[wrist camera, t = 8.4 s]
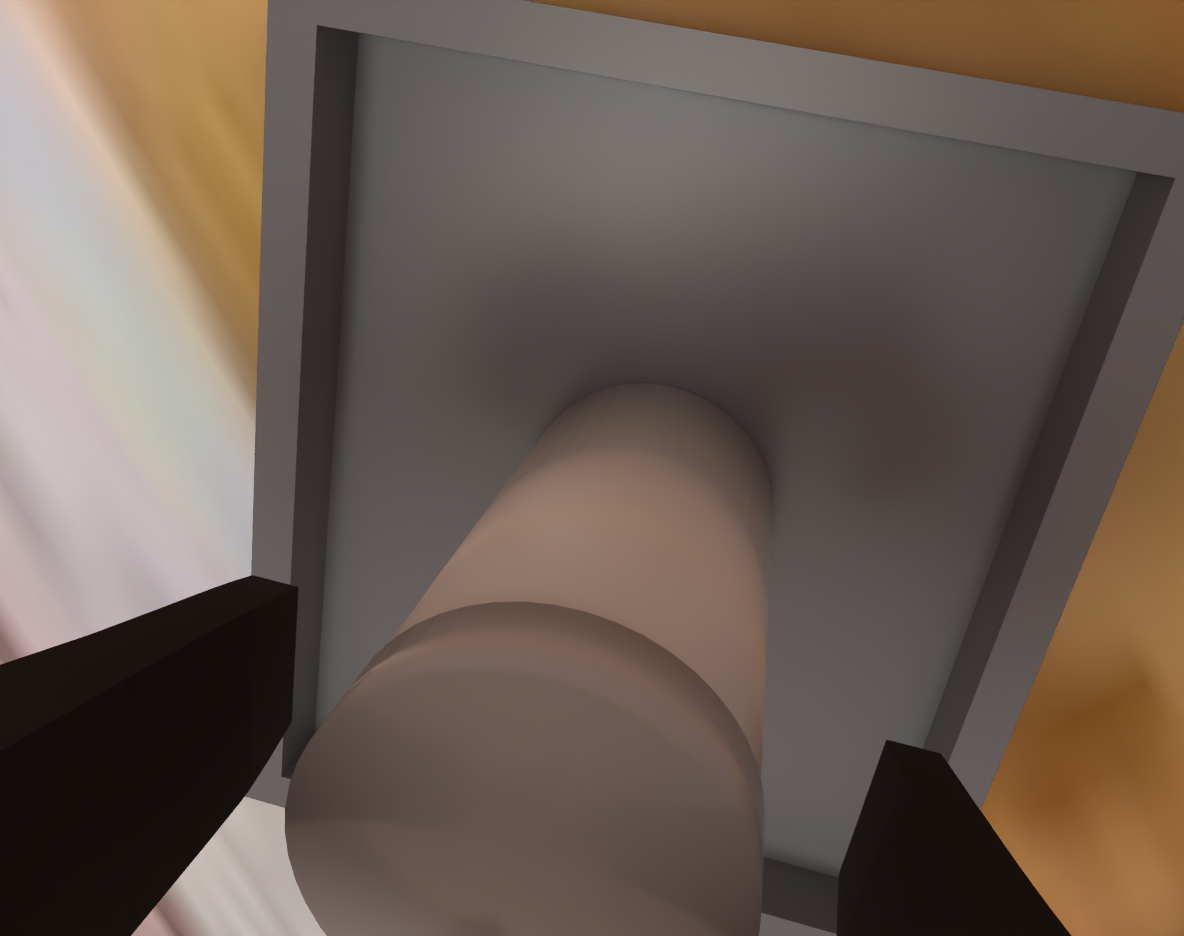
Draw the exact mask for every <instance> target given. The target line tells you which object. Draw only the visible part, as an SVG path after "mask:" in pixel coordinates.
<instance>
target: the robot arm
mask: <svg viewBox="0 0 1184 936" xmlns="http://www.w3.org/2000/svg"><path fill="white" fill-rule="evenodd" d="M298 589H299V587H297V586H293V585H289V584H285V583H281V582H278V581H274V580H270V579H266V578H262V577H258V576H254V575H252V576H249V577H245V578H242V579H239V580H236V581H233V582H230V583H227V584H224V585H221V586H218V587H215V588H213V589H210V590H207V591H204V592H202V593H199V594H196V595H194V596H191V597H189V598H186V599H183V600H181V601H178V602H175V603H173V604H170V605H168V606H165V607H162V608H160V609H157V610H154V611H152V612H149V613H147V614H144V615H141V616H139V617H136V618H133V619H131V620H128V621H125V622H123V623H120V624H117V625H115V626H112V627H109V628H107V629H104V630H101V631H99V632H96V633H93V634H90V635H88V636H85V637H82V638H79V639H76V640H73V641H70V642H67V643H64V644H61V645H58V646H55V647H52V648H49V649H46V650H43V651H40V652H37V653H34V654H31V655H28V656H25V657H22V658H19V659H16V660H13V661H10V662H7V663H4V664H1V665H0V936H131V935H132V934H133V932H134V931H135V930H136V929H137V928H138V926H139V925H140V924H141V923H142V922H143V920H144V919H145V918H146V917H147V915H148V914H149V913H150V912H151V911H152V909H153V908H154V907H155V906H156V905H157V903H158V902H159V901H160V900H161V898H162V897H163V896H164V895H165V894H166V892H167V891H168V890H169V889H170V888H171V886H172V885H173V884H174V883H175V881H176V880H177V879H178V878H179V877H180V875H181V874H182V873H183V872H184V871H185V869H186V868H187V867H188V866H189V864H190V863H191V862H192V861H193V860H194V858H195V857H196V856H197V855H198V854H199V852H200V851H201V850H202V849H203V847H204V846H205V845H206V844H207V843H208V841H209V840H210V839H211V838H212V836H213V835H214V834H215V833H216V831H217V830H218V829H219V828H220V827H221V825H222V824H223V823H224V822H225V820H226V819H227V818H228V817H229V815H230V814H231V813H232V812H233V810H234V809H235V808H236V807H237V805H238V804H239V803H240V802H241V800H242V799H243V798H244V797H245V795H246V794H247V793H248V792H249V790H250V789H251V787H252V786H253V784H254V782H255V781H256V779H257V778H258V776H259V775H260V773H261V772H262V770H263V768H264V767H265V765H266V764H267V762H268V761H269V759H270V757H271V756H272V754H273V752H274V751H275V749H276V747H277V746H278V744H279V742H280V741H281V739H282V737H283V736H284V734H285V732H286V731H287V729H288V727H289V726H290V724H291V722H292V708H293V689H294V669H295V649H296V629H297V609H298ZM837 936H1071V935H1070V934H1069V932H1068V931H1067V930H1066V928H1065V927H1064V926H1063V924H1062V923H1061V922H1060V920H1059V919H1058V918H1057V917H1056V915H1055V914H1054V913H1053V911H1052V910H1051V909H1050V907H1049V906H1048V905H1047V903H1046V902H1045V901H1044V899H1043V898H1042V897H1041V895H1040V894H1039V893H1038V891H1037V890H1036V889H1035V887H1034V886H1033V885H1032V883H1031V882H1030V880H1029V879H1028V878H1027V876H1026V875H1025V873H1024V872H1023V871H1022V869H1021V868H1020V867H1019V865H1018V864H1017V862H1016V861H1015V860H1014V858H1013V857H1012V855H1011V854H1010V852H1009V851H1008V850H1007V848H1006V847H1005V845H1004V844H1003V843H1002V841H1001V840H1000V838H999V837H998V835H997V834H996V832H995V831H994V830H993V828H992V827H991V825H990V824H989V822H988V821H987V819H986V818H985V816H984V815H983V814H982V812H981V811H980V809H979V808H978V806H977V805H976V803H975V802H974V800H973V799H972V797H971V796H970V794H969V793H968V792H967V790H966V789H965V787H964V786H963V784H962V783H961V781H960V780H959V778H958V777H957V775H956V774H955V773H954V771H953V770H952V768H951V767H950V765H949V764H948V763H947V761H946V760H945V758H944V757H943V756H942V754H941V753H937V752H933V751H929V750H926V749H922V748H918V747H914V746H910V745H906V744H902V743H899V742H895V741H891V740H887V739H886V742H885V745H884V747H883V750H882V753H881V756H880V759H879V762H878V764H877V767H876V770H875V773H874V776H873V779H872V781H871V784H870V787H869V790H868V793H867V796H866V798H865V801H864V804H863V807H862V810H861V813H860V815H859V818H858V821H857V824H856V827H855V830H854V832H853V835H852V838H851V841H850V844H849V847H848V849H847V852H846V855H845V858H844V861H843V864H842V866H841V869H840V872H839V881H838V906H837Z"/></svg>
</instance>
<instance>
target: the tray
mask: <svg viewBox="0 0 1184 936" xmlns="http://www.w3.org/2000/svg"><path fill="white" fill-rule="evenodd" d="M1183 320H1184V113H1182V112H1176V111H1170V110H1165V109H1159V108H1153V107H1147V106H1141V105H1135V104H1129V103H1123V102H1118V101H1112V100H1106V99H1100V98H1094V97H1088V96H1082V95H1076V94H1071V93H1065V92H1059V91H1053V90H1047V89H1041V88H1035V87H1029V86H1024V85H1018V84H1012V83H1006V82H1000V81H994V80H988V79H982V78H977V77H971V76H965V75H959V74H953V73H947V72H941V71H935V70H930V69H924V68H918V67H912V66H906V65H900V64H894V63H888V62H883V61H877V60H871V59H865V58H859V57H853V56H847V55H841V54H836V53H830V52H824V51H818V50H812V49H806V48H800V47H794V46H789V45H783V44H777V43H771V42H765V41H759V40H753V39H747V38H742V37H736V36H730V35H724V34H718V33H712V32H706V31H700V30H695V29H689V28H683V27H677V26H671V25H665V24H659V23H653V22H648V21H642V20H636V19H630V18H624V17H618V16H612V15H606V14H601V13H595V12H589V11H583V10H577V9H571V8H565V7H559V6H554V5H548V4H542V3H536V2H530V1H524V0H268V18H267V53H266V88H265V122H264V157H263V192H262V226H261V261H260V296H259V330H258V365H257V400H256V434H255V469H254V504H253V538H252V573H251V576H252V575H254V576H258V577H262V578H266V579H270V580H274V581H278V582H281V583H285V584H289V585H293V586H297V587H299V589H298V609H297V629H296V649H295V669H294V689H293V708H292V722H291V724H290V726H289V727H288V729H287V731H286V732H285V734H284V736H283V737H282V739H281V741H280V742H279V744H278V746H277V747H276V749H275V751H274V752H273V754H272V756H271V757H270V759H269V761H268V762H267V764H266V765H265V767H264V768H263V770H262V772H261V773H260V775H259V776H258V778H257V779H256V781H255V782H254V784H253V786H252V787H251V789H250V790H249V792H248V793H247V794H246V795H245V796H246V797H249V798H253V799H256V800H260V801H263V802H266V803H270V804H273V805H277V806H280V807H284V808H285V806H286V800H287V794H288V789H289V784H290V781H291V778H292V775H293V773H294V770H295V767H296V764H297V762H298V760H299V758H300V757H301V755H302V753H303V751H304V750H305V748H306V746H307V744H308V743H309V741H310V740H311V738H312V737H313V736H314V734H315V733H316V732H317V730H318V729H319V728H320V726H321V725H322V724H323V722H324V721H325V720H326V718H327V717H328V716H329V714H330V713H331V712H332V710H333V709H334V708H335V706H336V705H337V704H338V702H339V701H340V700H341V698H342V697H343V696H344V694H345V693H346V692H347V690H348V689H349V687H350V686H351V685H352V683H353V682H354V681H355V679H356V678H357V677H358V675H359V674H360V673H361V671H362V670H363V669H364V668H365V667H366V665H367V664H368V663H369V662H370V661H371V659H372V658H373V657H374V656H375V654H376V653H377V652H378V651H380V650H381V649H382V648H383V647H384V646H385V645H387V644H388V643H389V641H390V640H391V639H392V637H393V636H394V635H395V633H396V632H397V631H398V629H399V628H400V626H401V625H402V624H403V622H404V621H405V620H406V618H407V617H408V616H409V614H410V613H411V612H412V610H413V609H414V607H415V606H416V605H417V603H418V602H419V601H420V599H421V598H422V597H423V595H424V594H425V593H426V591H427V590H428V588H429V587H430V586H431V584H432V583H433V582H434V580H435V579H436V578H437V576H438V575H439V574H440V572H441V571H442V569H443V568H444V567H445V565H446V564H447V563H448V561H449V560H450V559H451V557H452V556H453V555H454V553H455V552H456V550H457V549H458V548H459V546H460V545H461V544H462V542H463V541H464V540H465V538H466V537H467V536H468V534H469V533H470V531H471V530H472V529H473V527H474V526H475V525H476V523H477V522H478V521H479V519H480V518H481V517H482V515H483V514H484V512H485V511H486V510H487V508H488V507H489V506H490V504H491V503H492V502H493V500H494V499H495V498H496V496H497V495H498V493H499V492H500V491H501V489H502V488H503V487H504V485H505V484H506V483H507V481H508V480H509V479H510V477H511V476H512V474H513V473H514V472H515V470H516V469H517V468H518V466H519V465H520V464H521V462H522V461H523V460H524V458H525V457H526V455H527V454H528V453H529V451H530V450H531V449H532V447H533V446H534V445H535V443H536V442H537V441H538V439H539V438H540V436H541V435H542V434H543V432H544V431H545V430H546V429H547V427H548V426H549V425H550V424H551V422H552V421H553V420H554V419H555V418H556V417H557V416H558V415H559V414H560V413H561V412H562V411H564V410H565V409H566V408H567V407H569V406H570V405H572V404H573V403H574V402H576V401H577V400H579V399H581V398H583V397H585V396H587V395H589V394H591V393H593V392H596V391H599V390H602V389H605V388H607V387H612V386H617V385H622V384H632V383H652V384H661V385H667V386H672V387H676V388H679V389H682V390H686V391H689V392H691V393H694V394H696V395H698V396H700V397H702V398H704V399H707V400H708V401H710V402H711V403H713V404H714V405H716V406H718V407H719V408H721V409H722V410H723V411H724V412H726V413H727V414H728V415H729V416H731V417H732V418H733V419H734V420H735V421H736V422H737V423H738V424H739V425H740V426H741V427H742V428H743V429H744V431H745V432H746V433H747V434H748V436H749V437H750V439H751V440H752V441H753V443H754V444H755V446H756V448H757V450H758V452H759V453H760V455H761V457H762V459H763V462H764V465H765V467H766V470H767V473H768V477H769V481H770V486H771V493H772V524H771V549H770V574H769V600H768V625H767V650H766V675H765V700H764V726H763V751H762V776H761V782H762V786H763V794H764V807H765V828H764V859H763V889H762V911H761V921H760V931H759V935H758V936H837V906H838V881H839V872H840V869H841V866H842V864H843V861H844V858H845V855H846V852H847V849H848V847H849V844H850V841H851V838H852V835H853V832H854V830H855V827H856V824H857V821H858V818H859V815H860V813H861V810H862V807H863V804H864V801H865V798H866V796H867V793H868V790H869V787H870V784H871V781H872V779H873V776H874V773H875V770H876V767H877V764H878V762H879V759H880V756H881V753H882V750H883V747H884V745H885V742H886V739H887V740H891V741H895V742H899V743H902V744H906V745H910V746H914V747H918V748H922V749H926V750H929V751H933V752H937V753H941V754H942V756H943V757H944V758H945V760H946V761H947V763H948V764H949V765H950V767H951V768H952V770H953V771H954V773H955V774H956V775H957V777H958V778H959V780H960V781H961V783H962V784H963V786H964V787H965V789H966V790H967V792H968V793H969V794H970V796H971V797H972V799H973V800H974V802H975V803H976V805H977V806H978V808H979V809H980V810H981V807H982V805H983V803H984V800H985V798H986V795H987V793H988V791H989V788H990V786H991V783H992V781H993V778H994V776H995V774H996V771H997V769H998V766H999V764H1000V762H1001V759H1002V757H1003V754H1004V752H1005V750H1006V747H1007V745H1008V742H1009V740H1010V737H1011V735H1012V733H1013V730H1014V728H1015V725H1016V723H1017V721H1018V718H1019V716H1020V713H1021V711H1022V709H1023V706H1024V704H1025V701H1026V699H1027V696H1028V694H1029V692H1030V689H1031V687H1032V684H1033V682H1034V680H1035V677H1036V675H1037V672H1038V670H1039V668H1040V665H1041V663H1042V660H1043V658H1044V656H1045V653H1046V651H1047V648H1048V646H1049V643H1050V641H1051V639H1052V636H1053V634H1054V631H1055V629H1056V627H1057V624H1058V622H1059V619H1060V617H1061V615H1062V612H1063V610H1064V607H1065V605H1066V602H1067V600H1068V598H1069V595H1070V593H1071V590H1072V588H1073V586H1074V583H1075V581H1076V578H1077V576H1078V574H1079V571H1080V569H1081V566H1082V564H1083V561H1084V559H1085V557H1086V554H1087V552H1088V549H1089V547H1090V545H1091V542H1092V540H1093V537H1094V535H1095V533H1096V530H1097V528H1098V525H1099V523H1100V520H1101V518H1102V516H1103V513H1104V511H1105V508H1106V506H1107V504H1108V501H1109V499H1110V496H1111V494H1112V492H1113V489H1114V487H1115V484H1116V482H1117V480H1118V477H1119V475H1120V472H1121V470H1122V467H1123V465H1124V463H1125V460H1126V458H1127V455H1128V453H1129V451H1130V448H1131V446H1132V443H1133V441H1134V439H1135V436H1136V434H1137V431H1138V429H1139V426H1140V424H1141V422H1142V419H1143V417H1144V414H1145V412H1146V410H1147V407H1148V405H1149V402H1150V400H1151V398H1152V395H1153V393H1154V390H1155V388H1156V385H1157V383H1158V381H1159V378H1160V376H1161V373H1162V371H1163V369H1164V366H1165V364H1166V361H1167V359H1168V357H1169V354H1170V352H1171V349H1172V347H1173V344H1174V342H1175V340H1176V337H1177V335H1178V332H1179V330H1180V328H1181V325H1182V323H1183Z"/></svg>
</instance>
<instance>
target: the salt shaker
mask: <svg viewBox="0 0 1184 936" xmlns="http://www.w3.org/2000/svg"><path fill="white" fill-rule="evenodd" d="M771 524H772V493H771V486H770V481H769V477H768V473H767V470H766V467H765V465H764V462H763V459H762V457H761V455H760V453H759V452H758V450H757V448H756V446H755V444H754V443H753V441H752V440H751V439H750V437H749V436H748V434H747V433H746V432H745V431H744V429H743V428H742V427H741V426H740V425H739V424H738V423H737V422H736V421H735V420H734V419H733V418H732V417H731V416H729V415H728V414H727V413H726V412H724V411H723V410H722V409H721V408H719V407H718V406H716V405H714V404H713V403H711V402H710V401H708V400H707V399H704V398H702V397H700V396H698V395H696V394H694V393H691V392H689V391H686V390H682V389H679V388H676V387H672V386H667V385H661V384H652V383H632V384H622V385H617V386H612V387H607V388H605V389H602V390H599V391H596V392H593V393H591V394H589V395H587V396H585V397H583V398H581V399H579V400H577V401H576V402H574V403H573V404H572V405H570V406H569V407H567V408H566V409H565V410H564V411H562V412H561V413H560V414H559V415H558V416H557V417H556V418H555V419H554V420H553V421H552V422H551V424H550V425H549V426H548V427H547V429H546V430H545V431H544V432H543V434H542V435H541V436H540V438H539V439H538V441H537V442H536V443H535V445H534V446H533V447H532V449H531V450H530V451H529V453H528V454H527V455H526V457H525V458H524V460H523V461H522V462H521V464H520V465H519V466H518V468H517V469H516V470H515V472H514V473H513V474H512V476H511V477H510V479H509V480H508V481H507V483H506V484H505V485H504V487H503V488H502V489H501V491H500V492H499V493H498V495H497V496H496V498H495V499H494V500H493V502H492V503H491V504H490V506H489V507H488V508H487V510H486V511H485V512H484V514H483V515H482V517H481V518H480V519H479V521H478V522H477V523H476V525H475V526H474V527H473V529H472V530H471V531H470V533H469V534H468V536H467V537H466V538H465V540H464V541H463V542H462V544H461V545H460V546H459V548H458V549H457V550H456V552H455V553H454V555H453V556H452V557H451V559H450V560H449V561H448V563H447V564H446V565H445V567H444V568H443V569H442V571H441V572H440V574H439V575H438V576H437V578H436V579H435V580H434V582H433V583H432V584H431V586H430V587H429V588H428V590H427V591H426V593H425V594H424V595H423V597H422V598H421V599H420V601H419V602H418V603H417V605H416V606H415V607H414V609H413V610H412V612H411V613H410V614H409V616H408V617H407V618H406V620H405V621H404V622H403V624H402V625H401V626H400V628H399V629H398V631H397V632H396V633H395V635H394V636H393V637H392V639H391V640H390V641H389V643H388V644H387V645H385V646H384V647H383V648H382V649H381V650H380V651H378V652H377V653H376V654H375V656H374V657H373V658H372V659H371V661H370V662H369V663H368V664H367V665H366V667H365V668H364V669H363V670H362V671H361V673H360V674H359V675H358V677H357V678H356V679H355V681H354V682H353V683H352V685H351V686H350V687H349V689H348V690H347V692H346V693H345V694H344V696H343V697H342V698H341V700H340V701H339V702H338V704H337V705H336V706H335V708H334V709H333V710H332V712H331V713H330V714H329V716H328V717H327V718H326V720H325V721H324V722H323V724H322V725H321V726H320V728H319V729H318V730H317V732H316V733H315V734H314V736H313V737H312V738H311V740H310V741H309V743H308V744H307V746H306V748H305V750H304V751H303V753H302V755H301V757H300V758H299V760H298V762H297V764H296V767H295V770H294V773H293V775H292V778H291V781H290V784H289V789H288V794H287V800H286V806H285V835H286V842H287V849H288V856H289V859H290V863H291V866H292V869H293V873H294V876H295V879H296V882H297V884H298V886H299V889H300V891H301V893H302V895H303V898H304V900H305V902H306V904H307V906H308V907H309V909H310V911H311V912H312V914H313V916H314V917H315V919H316V921H317V922H318V924H319V926H320V927H321V928H322V930H323V931H324V932H325V934H326V935H327V936H758V935H759V931H760V921H761V911H762V889H763V859H764V828H765V807H764V794H763V786H762V782H761V776H762V751H763V726H764V700H765V675H766V650H767V625H768V600H769V574H770V549H771Z"/></svg>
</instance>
